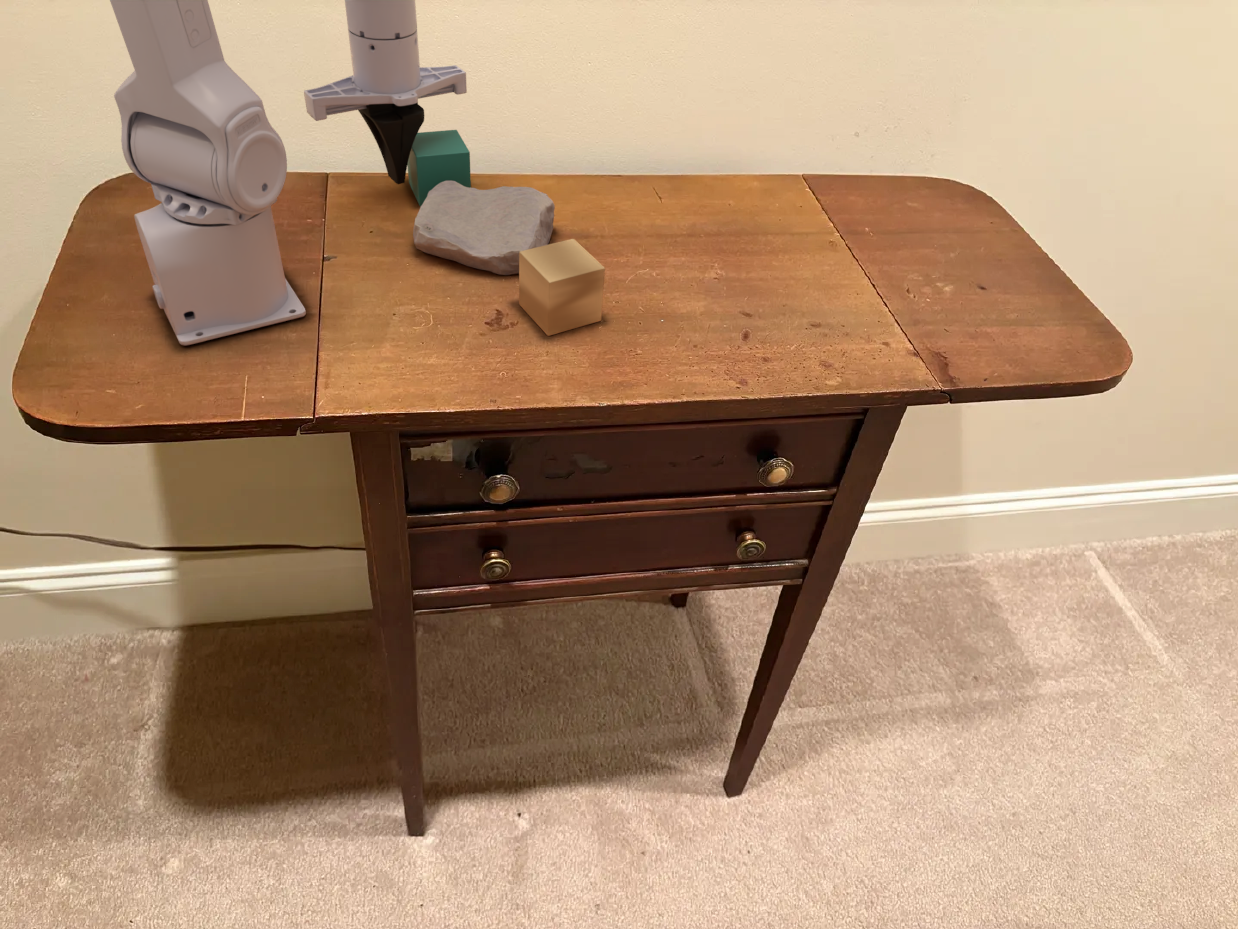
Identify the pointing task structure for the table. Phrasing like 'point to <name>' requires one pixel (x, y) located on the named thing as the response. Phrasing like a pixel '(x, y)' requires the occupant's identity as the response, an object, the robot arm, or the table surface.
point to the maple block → (561, 286)
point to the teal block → (437, 162)
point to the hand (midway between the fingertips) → (396, 179)
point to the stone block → (483, 225)
